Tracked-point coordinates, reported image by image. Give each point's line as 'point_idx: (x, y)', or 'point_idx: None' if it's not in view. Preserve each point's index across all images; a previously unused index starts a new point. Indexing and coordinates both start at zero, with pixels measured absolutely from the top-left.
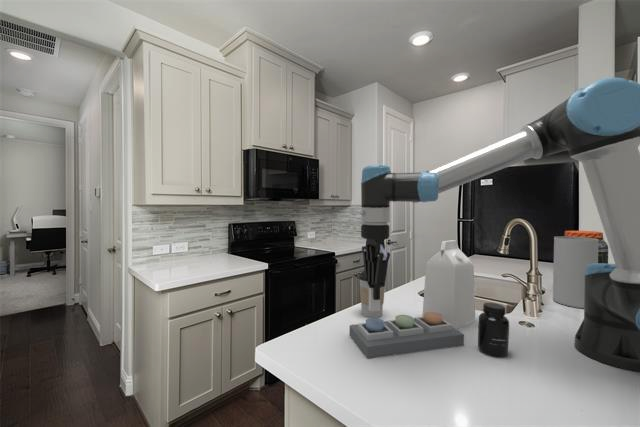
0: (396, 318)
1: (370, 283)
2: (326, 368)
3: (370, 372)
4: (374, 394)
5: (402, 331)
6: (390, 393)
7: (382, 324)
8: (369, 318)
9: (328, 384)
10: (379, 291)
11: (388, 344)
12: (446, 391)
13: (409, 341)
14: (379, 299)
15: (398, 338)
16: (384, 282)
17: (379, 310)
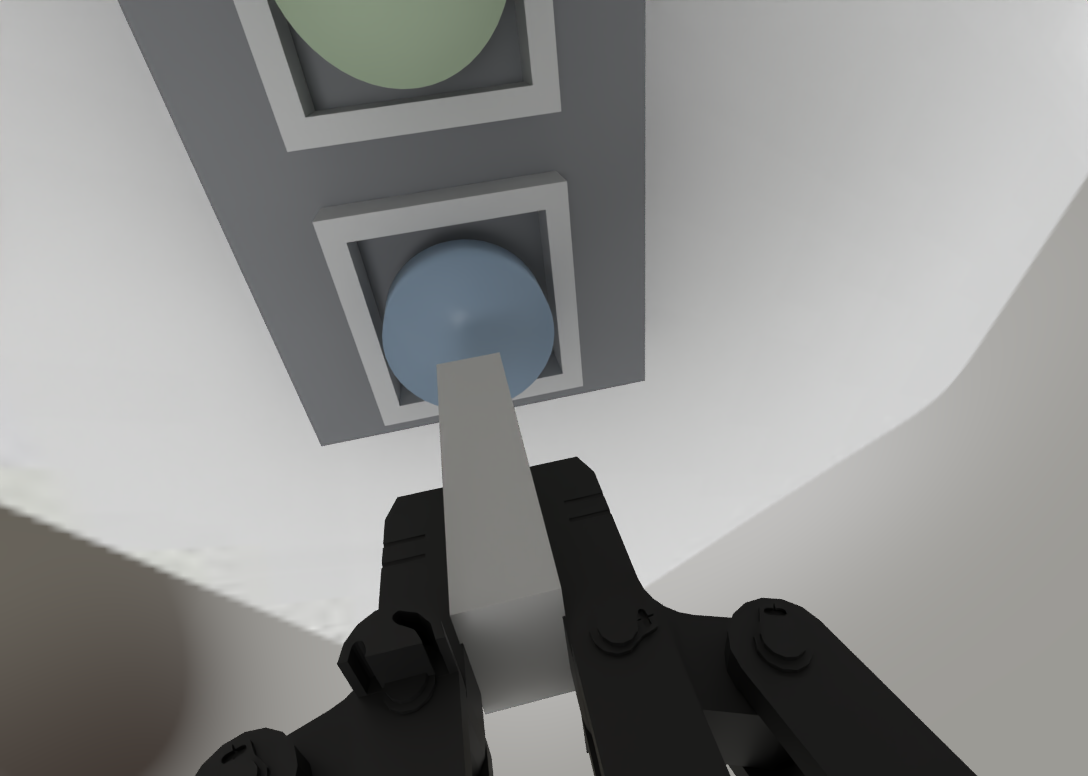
0: (395, 80)
1: (485, 747)
2: (652, 502)
3: (732, 351)
4: (858, 362)
5: (558, 74)
6: (883, 304)
7: (540, 290)
8: (401, 373)
9: (745, 494)
10: (628, 556)
11: (642, 242)
12: (1015, 15)
13: (642, 42)
14: (579, 460)
15: (579, 129)
16: (886, 701)
17: (501, 360)
